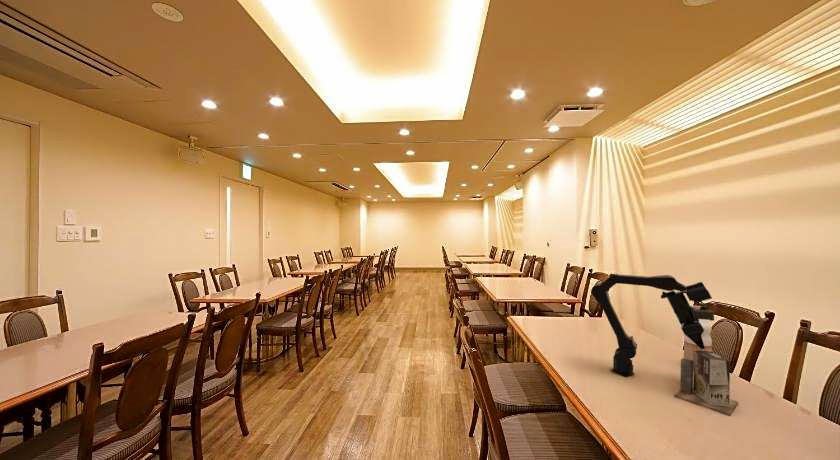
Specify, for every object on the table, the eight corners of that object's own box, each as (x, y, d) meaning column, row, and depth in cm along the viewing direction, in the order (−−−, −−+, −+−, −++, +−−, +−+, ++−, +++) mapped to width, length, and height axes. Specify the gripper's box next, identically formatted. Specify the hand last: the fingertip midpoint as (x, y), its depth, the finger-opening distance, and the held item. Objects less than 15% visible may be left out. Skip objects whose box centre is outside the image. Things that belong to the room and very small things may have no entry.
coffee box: (730, 407, 110) (731, 360, 110) (709, 405, 111) (709, 359, 111) (712, 394, 119) (712, 351, 119) (692, 392, 120) (692, 349, 120)
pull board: (674, 396, 118) (674, 362, 118) (685, 386, 126) (685, 354, 126) (730, 416, 106) (730, 377, 106) (738, 403, 114) (738, 368, 114)
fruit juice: (679, 366, 145) (680, 305, 145) (690, 363, 149) (690, 303, 149) (705, 375, 137) (705, 310, 137) (715, 371, 141) (716, 308, 141)
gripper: (708, 304, 115) (733, 348, 111) (702, 296, 130) (723, 334, 127) (672, 312, 121) (694, 354, 117) (670, 303, 136) (689, 340, 133)
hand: (701, 345), depth 123 cm, fingers open, 9 cm apart
